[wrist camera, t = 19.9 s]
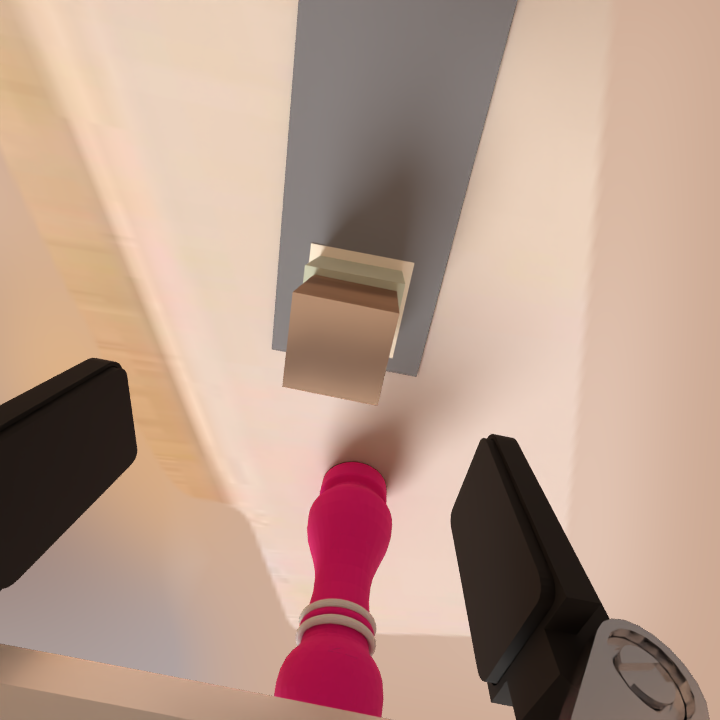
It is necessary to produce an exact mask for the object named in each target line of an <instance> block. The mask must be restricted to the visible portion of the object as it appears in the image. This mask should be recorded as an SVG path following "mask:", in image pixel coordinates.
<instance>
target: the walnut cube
mask: <svg viewBox="0 0 720 720" xmlns="http://www.w3.org/2000/svg"><path fill="white" fill-rule="evenodd" d="M398 318H399V305H398V297H397V291H394V290H389V289H384V288H379V287H374V286H369V285H364V284H359V283H354V282H349V281H344V280H339V279H334V278H330V277H325V276H320V275H315V274H314V275H313V276H311V277H310V278H309V279H308V280H307V281H305V282H304V283H303V284H302V285H301V286H299V287H298V288H297V289H296V290H295V291H293V294H292V303H291V313H290V322H289V331H288V340H287V349H286V358H285V368H284V377H283V386H282V387H287V388H292V389H297V390H302V391H307V392H312V393H317V394H322V395H327V396H331V397H336V398H341V399H346V400H351V401H356V402H361V403H366V404H371V405H376V406H377V405H378V401H379V397H380V393H381V388H382V384H383V380H384V376H385V372H386V368H387V363H388V359H389V355H390V351H391V347H392V343H393V339H394V334H395V330H396V326H397V322H398Z"/></svg>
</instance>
